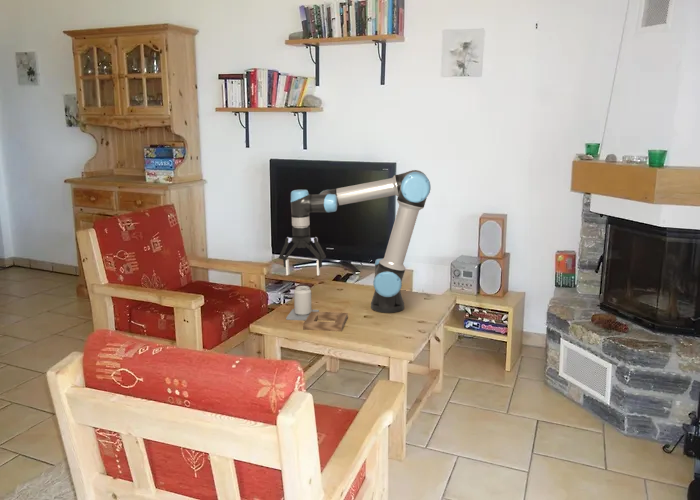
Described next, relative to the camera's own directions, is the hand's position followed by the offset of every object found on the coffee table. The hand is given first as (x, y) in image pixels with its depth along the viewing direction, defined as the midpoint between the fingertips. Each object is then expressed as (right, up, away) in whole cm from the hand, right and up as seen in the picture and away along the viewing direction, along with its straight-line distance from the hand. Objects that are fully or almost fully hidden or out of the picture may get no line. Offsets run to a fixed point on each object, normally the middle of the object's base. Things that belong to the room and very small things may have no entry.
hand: (303, 274), depth 256 cm
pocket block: (+10, -21, -6) cm, 24 cm away
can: (0, -18, +4) cm, 18 cm away
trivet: (0, -18, +4) cm, 19 cm away
